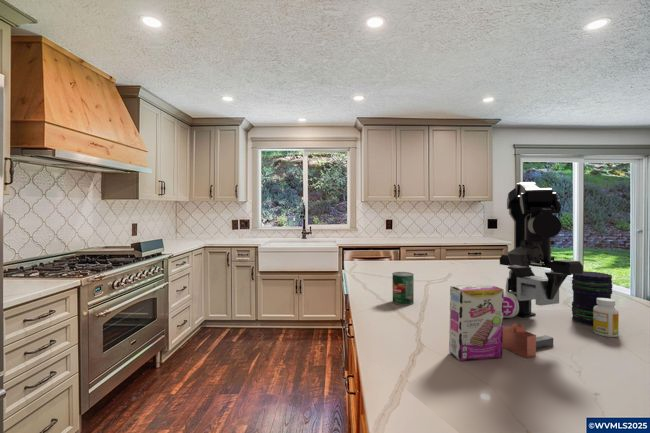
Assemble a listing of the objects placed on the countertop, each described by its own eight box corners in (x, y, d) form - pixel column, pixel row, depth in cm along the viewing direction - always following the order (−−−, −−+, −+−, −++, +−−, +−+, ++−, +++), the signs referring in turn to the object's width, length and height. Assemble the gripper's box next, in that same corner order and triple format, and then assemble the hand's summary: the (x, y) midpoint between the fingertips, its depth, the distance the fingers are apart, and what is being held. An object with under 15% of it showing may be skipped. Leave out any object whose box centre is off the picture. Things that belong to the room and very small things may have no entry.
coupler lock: (535, 297, 90) (535, 275, 90) (559, 303, 84) (559, 279, 84) (516, 299, 88) (516, 277, 88) (540, 305, 82) (540, 281, 82)
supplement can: (472, 318, 103) (521, 319, 103) (470, 291, 105) (518, 292, 104) (462, 316, 111) (507, 316, 111) (460, 291, 113) (505, 291, 112)
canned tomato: (416, 301, 127) (416, 273, 127) (409, 306, 120) (409, 276, 120) (396, 298, 131) (396, 271, 131) (389, 303, 124) (389, 274, 124)
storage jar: (606, 319, 105) (606, 272, 105) (617, 329, 97) (618, 278, 96) (568, 315, 110) (568, 270, 110) (575, 324, 101) (576, 275, 101)
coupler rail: (536, 339, 89) (536, 314, 88) (563, 349, 82) (563, 322, 82) (500, 347, 84) (500, 320, 84) (526, 358, 77) (526, 329, 77)
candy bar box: (460, 362, 75) (460, 290, 75) (448, 353, 80) (448, 285, 80) (504, 358, 77) (504, 288, 77) (490, 349, 82) (490, 283, 82)
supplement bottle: (612, 331, 94) (612, 297, 94) (622, 338, 89) (622, 302, 89) (589, 329, 96) (590, 296, 96) (598, 336, 91) (598, 300, 91)
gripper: (485, 235, 92) (484, 291, 92) (552, 238, 74) (553, 308, 74) (513, 234, 96) (513, 288, 96) (584, 238, 79) (584, 304, 78)
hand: (537, 296), depth 86 cm, fingers closed on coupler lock, 6 cm apart
